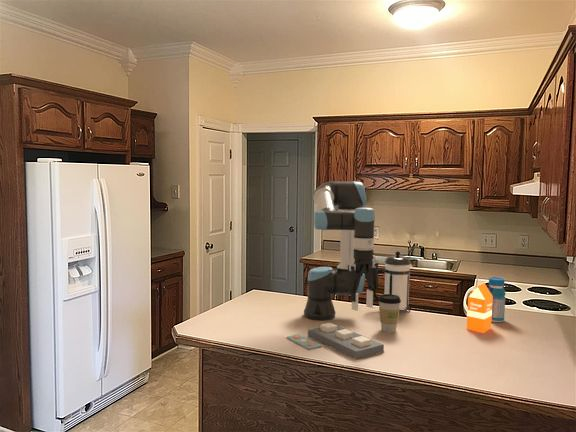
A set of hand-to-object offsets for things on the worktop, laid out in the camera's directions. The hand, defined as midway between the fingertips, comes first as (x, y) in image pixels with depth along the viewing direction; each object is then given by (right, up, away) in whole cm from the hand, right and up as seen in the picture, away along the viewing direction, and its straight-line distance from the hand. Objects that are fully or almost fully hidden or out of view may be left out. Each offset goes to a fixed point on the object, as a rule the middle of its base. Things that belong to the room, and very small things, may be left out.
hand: (362, 308), depth 183 cm
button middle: (-6, -15, +10) cm, 18 cm away
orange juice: (+57, -15, +31) cm, 67 cm away
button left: (-11, -14, +18) cm, 25 cm away
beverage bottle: (+70, -14, +44) cm, 84 cm away
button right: (0, -15, +1) cm, 16 cm away
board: (-6, -16, +10) cm, 20 cm away
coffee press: (+25, -13, +59) cm, 65 cm away
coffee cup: (+16, -15, +28) cm, 35 cm away
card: (-22, -16, +11) cm, 29 cm away
